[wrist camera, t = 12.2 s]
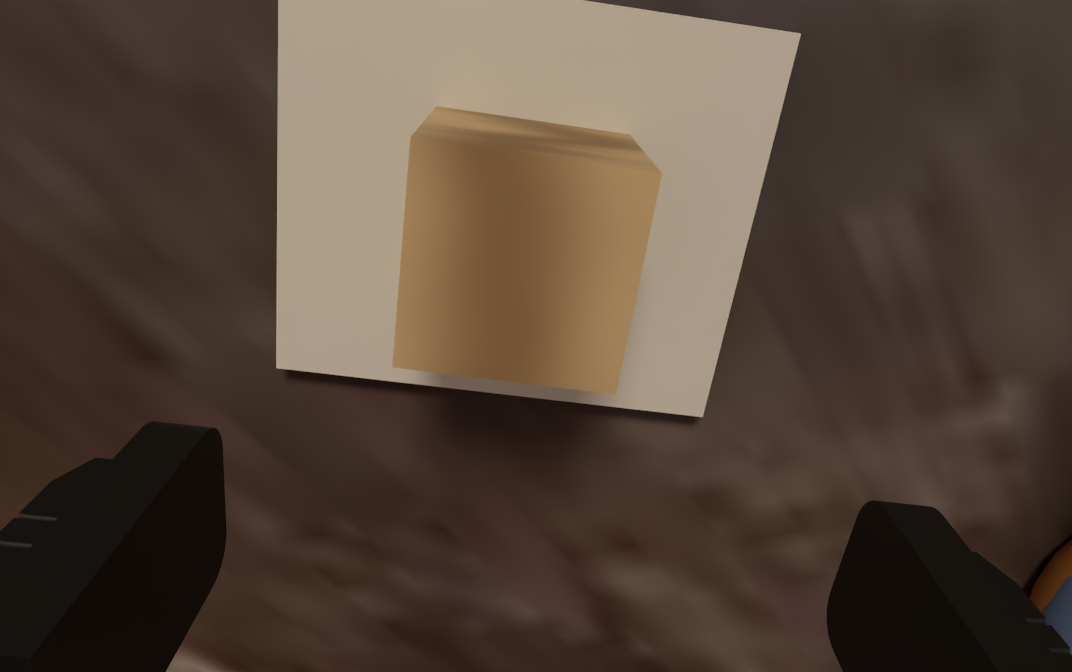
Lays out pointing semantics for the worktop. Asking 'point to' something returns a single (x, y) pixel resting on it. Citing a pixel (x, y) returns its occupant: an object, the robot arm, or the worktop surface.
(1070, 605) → the doughnut
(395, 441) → the worktop surface
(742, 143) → the plate
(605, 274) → the maple block
